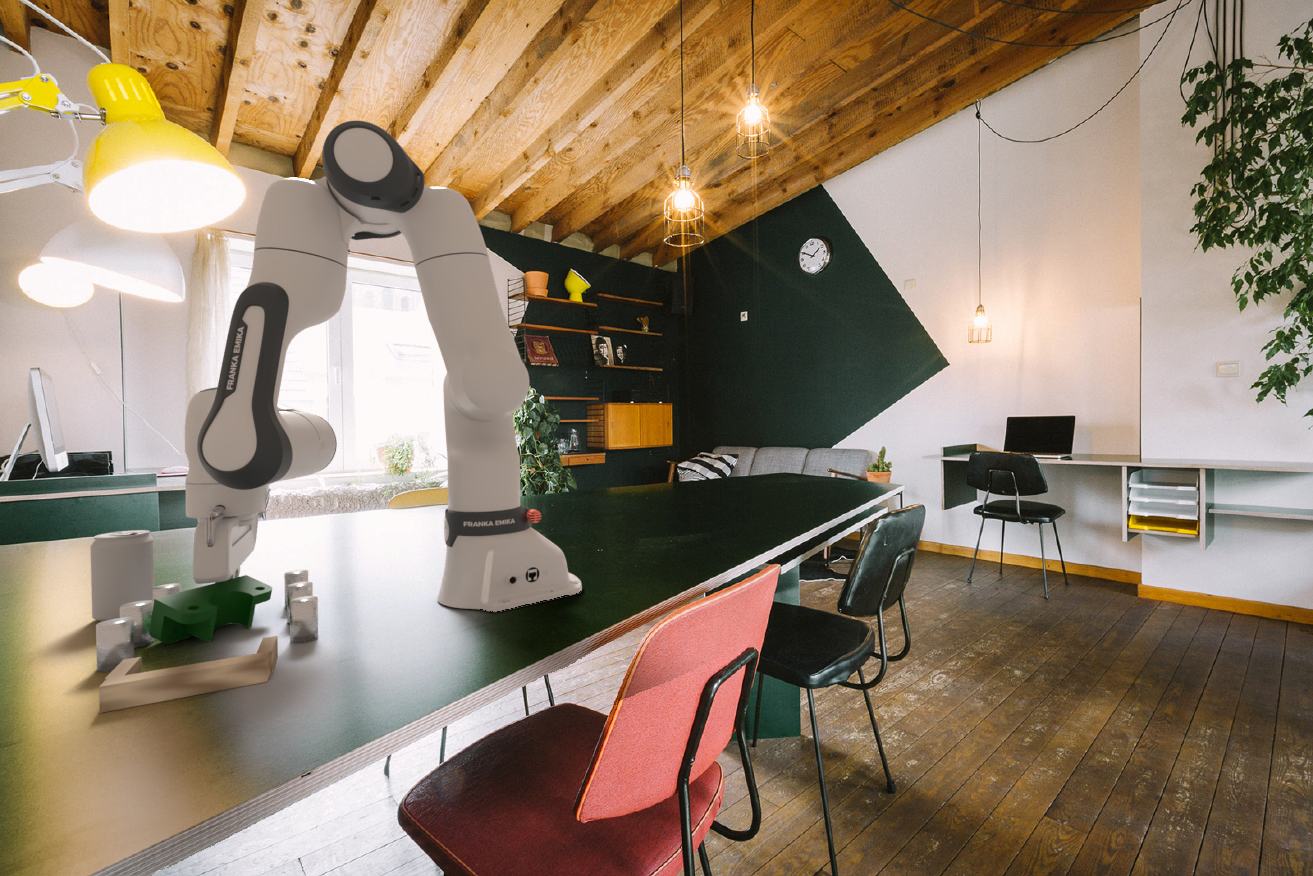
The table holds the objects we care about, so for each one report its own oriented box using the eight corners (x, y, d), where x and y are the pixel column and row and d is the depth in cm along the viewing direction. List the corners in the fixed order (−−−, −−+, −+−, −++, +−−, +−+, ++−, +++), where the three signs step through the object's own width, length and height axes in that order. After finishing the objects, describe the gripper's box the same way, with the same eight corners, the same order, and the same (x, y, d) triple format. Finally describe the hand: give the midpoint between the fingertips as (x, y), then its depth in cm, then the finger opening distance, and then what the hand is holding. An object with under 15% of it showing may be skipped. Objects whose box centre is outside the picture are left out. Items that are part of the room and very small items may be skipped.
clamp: (194, 678, 68) (171, 625, 64) (161, 660, 69) (137, 608, 65) (284, 613, 78) (270, 564, 74) (254, 599, 79) (238, 550, 75)
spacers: (324, 598, 85) (323, 567, 85) (317, 640, 69) (316, 601, 69) (146, 622, 75) (146, 586, 75) (88, 677, 59) (87, 631, 58)
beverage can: (115, 626, 74) (113, 538, 73) (79, 623, 75) (77, 536, 75) (166, 610, 80) (165, 529, 80) (132, 608, 81) (130, 528, 81)
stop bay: (277, 656, 64) (277, 635, 64) (269, 681, 58) (269, 657, 58) (124, 682, 57) (123, 659, 57) (96, 713, 51) (96, 687, 51)
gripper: (240, 510, 69) (241, 617, 69) (265, 492, 87) (266, 578, 87) (175, 513, 66) (177, 626, 66) (215, 494, 84) (216, 583, 84)
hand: (227, 598), depth 77 cm, fingers closed
